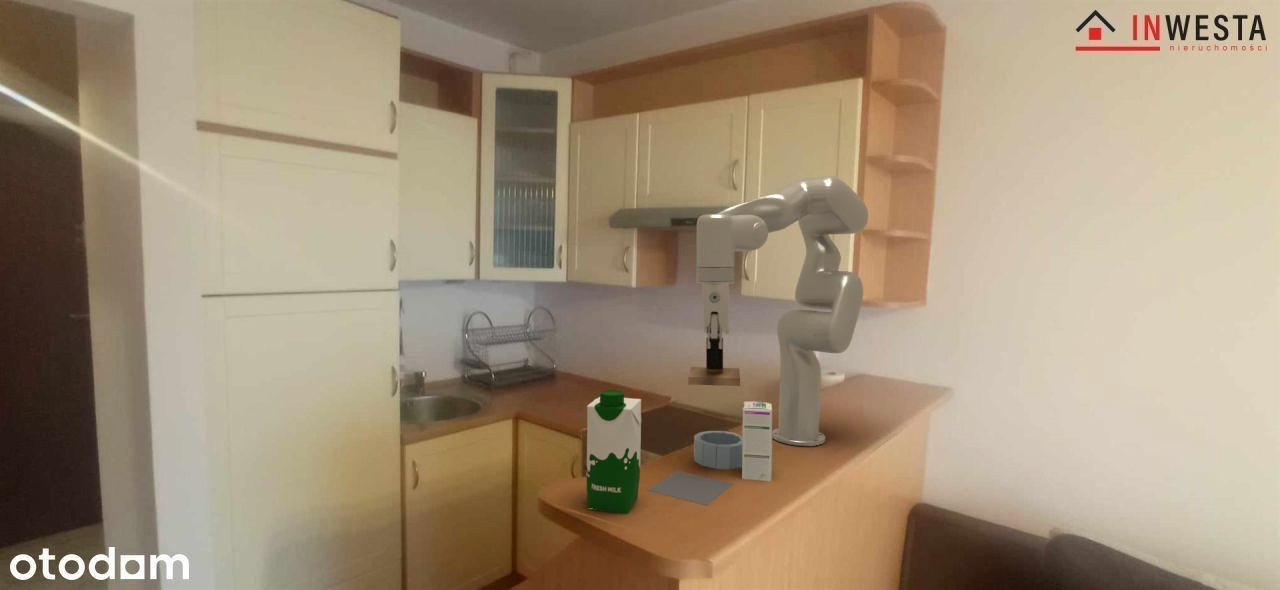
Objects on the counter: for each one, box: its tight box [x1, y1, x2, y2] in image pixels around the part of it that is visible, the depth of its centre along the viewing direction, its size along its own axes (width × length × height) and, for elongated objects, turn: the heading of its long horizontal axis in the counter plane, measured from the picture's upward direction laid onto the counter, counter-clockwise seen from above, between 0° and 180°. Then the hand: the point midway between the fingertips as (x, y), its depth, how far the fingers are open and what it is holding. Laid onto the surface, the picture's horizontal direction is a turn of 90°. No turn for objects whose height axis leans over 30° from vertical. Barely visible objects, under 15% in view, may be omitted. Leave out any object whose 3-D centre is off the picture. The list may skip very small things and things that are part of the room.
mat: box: [647, 470, 734, 507], centre depth 104 cm, size 12×12×1 cm
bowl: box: [693, 430, 742, 470], centre depth 119 cm, size 11×11×5 cm
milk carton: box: [586, 389, 642, 515], centre depth 96 cm, size 9×9×20 cm
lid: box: [687, 337, 741, 387], centre depth 113 cm, size 10×10×8 cm
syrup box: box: [741, 400, 773, 482], centre depth 110 cm, size 6×6×14 cm
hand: (714, 365), depth 113 cm, fingers closed on lid, 3 cm apart
